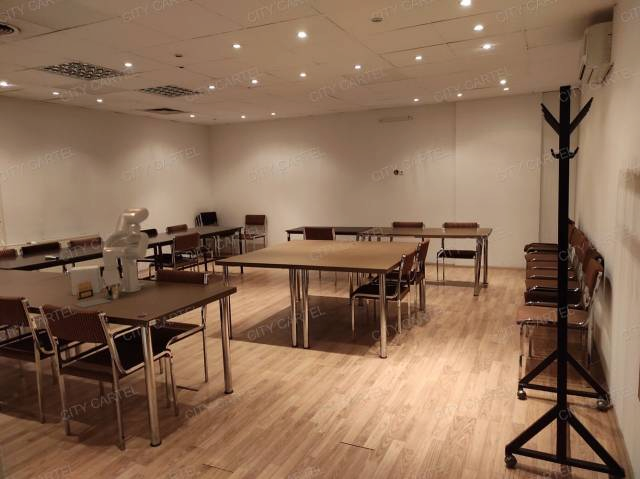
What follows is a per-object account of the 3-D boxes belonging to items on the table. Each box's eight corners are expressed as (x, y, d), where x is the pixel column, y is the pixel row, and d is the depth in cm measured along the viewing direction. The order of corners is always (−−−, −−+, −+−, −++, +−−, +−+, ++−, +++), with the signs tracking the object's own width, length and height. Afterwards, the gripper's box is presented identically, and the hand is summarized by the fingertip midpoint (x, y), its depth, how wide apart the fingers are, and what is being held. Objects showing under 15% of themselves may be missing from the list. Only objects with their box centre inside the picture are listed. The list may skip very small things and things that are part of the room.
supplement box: (102, 289, 334) (100, 264, 332) (99, 293, 322) (97, 267, 319) (75, 291, 329) (73, 266, 327) (72, 295, 316) (69, 269, 314)
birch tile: (113, 296, 309) (112, 285, 308) (118, 298, 304) (117, 286, 303) (108, 297, 306) (107, 286, 305) (113, 299, 302) (112, 287, 301)
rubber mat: (102, 299, 304) (101, 298, 304) (111, 302, 295) (111, 301, 295) (73, 304, 291) (73, 303, 291) (82, 308, 282) (82, 307, 282)
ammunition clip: (79, 299, 304) (77, 282, 302) (77, 299, 305) (75, 281, 303) (93, 296, 313) (92, 278, 312) (91, 295, 314) (90, 278, 313)
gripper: (119, 265, 311) (122, 291, 314) (95, 269, 299) (98, 296, 301) (125, 266, 306) (127, 293, 309) (100, 270, 294) (103, 298, 296)
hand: (113, 294), depth 305 cm, fingers closed on birch tile, 3 cm apart
